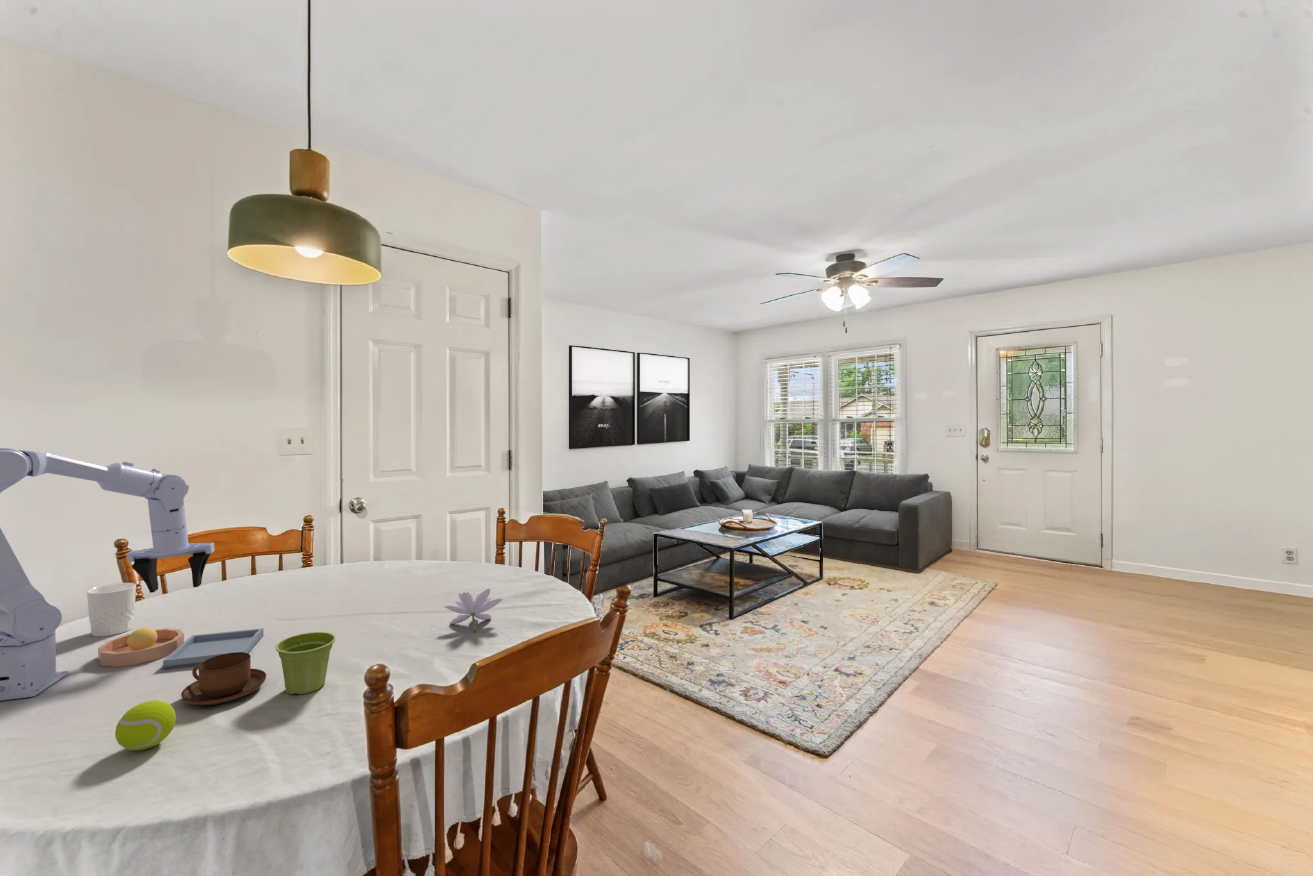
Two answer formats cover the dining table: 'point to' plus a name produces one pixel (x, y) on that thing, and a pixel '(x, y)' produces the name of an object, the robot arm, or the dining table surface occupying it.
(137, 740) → the tennis ball
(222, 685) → the cup and saucer
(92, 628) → the white cup
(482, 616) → the water lily
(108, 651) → the bowl
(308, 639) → the plant pot
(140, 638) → the ball
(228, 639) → the tray
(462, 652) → the dining table surface
